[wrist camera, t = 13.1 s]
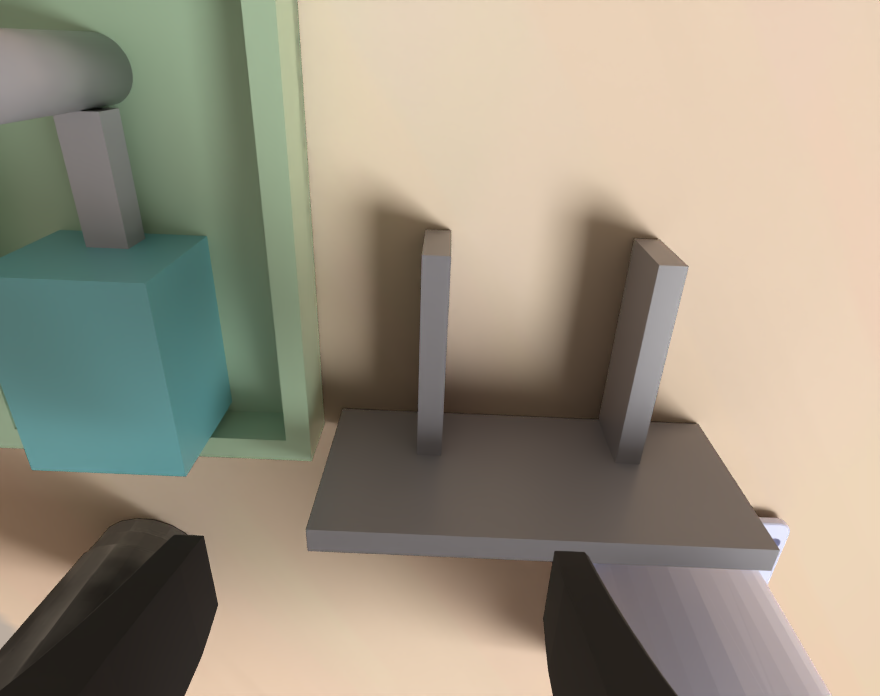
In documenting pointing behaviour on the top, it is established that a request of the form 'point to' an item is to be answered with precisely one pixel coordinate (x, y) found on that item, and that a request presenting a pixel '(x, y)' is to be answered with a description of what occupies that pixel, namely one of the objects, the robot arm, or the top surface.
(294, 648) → the top surface
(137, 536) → the beverage cup
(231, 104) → the tray
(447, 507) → the rack
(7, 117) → the cyan and grey piece
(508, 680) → the top surface
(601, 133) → the top surface
